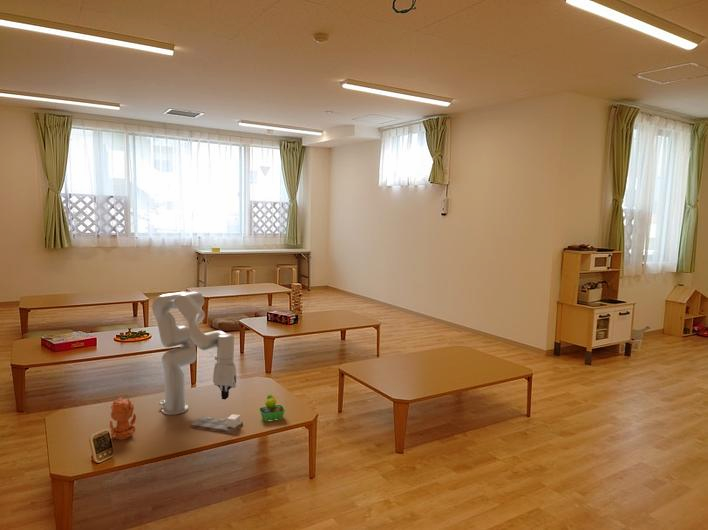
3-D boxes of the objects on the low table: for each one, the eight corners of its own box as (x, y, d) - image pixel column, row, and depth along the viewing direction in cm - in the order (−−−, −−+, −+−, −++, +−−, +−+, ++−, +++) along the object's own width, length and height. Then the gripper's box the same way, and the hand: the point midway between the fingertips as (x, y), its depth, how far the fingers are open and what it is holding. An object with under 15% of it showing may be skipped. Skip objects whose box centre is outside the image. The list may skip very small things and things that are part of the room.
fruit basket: (262, 423, 228) (262, 401, 227) (258, 416, 236) (258, 394, 235) (285, 420, 232) (285, 398, 231) (281, 413, 240) (281, 391, 239)
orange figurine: (129, 428, 220) (128, 391, 218) (140, 435, 213) (139, 397, 211) (104, 437, 211) (103, 398, 209) (115, 444, 204) (114, 404, 203)
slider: (227, 426, 220) (226, 418, 219) (232, 422, 225) (232, 414, 224) (234, 427, 219) (234, 419, 218) (240, 423, 224) (240, 415, 223)
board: (190, 427, 222) (190, 423, 222) (202, 418, 232) (202, 415, 232) (232, 433, 217) (232, 430, 216) (242, 424, 226) (242, 421, 226)
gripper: (206, 360, 218) (206, 399, 220) (235, 364, 214) (235, 403, 216) (215, 356, 225) (215, 393, 227) (243, 360, 222) (243, 397, 224)
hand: (225, 398), depth 222 cm, fingers closed
